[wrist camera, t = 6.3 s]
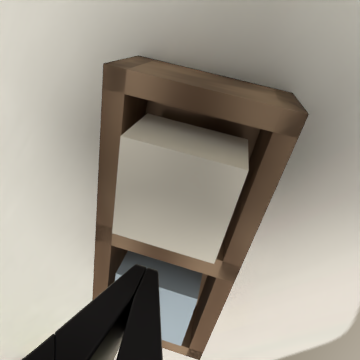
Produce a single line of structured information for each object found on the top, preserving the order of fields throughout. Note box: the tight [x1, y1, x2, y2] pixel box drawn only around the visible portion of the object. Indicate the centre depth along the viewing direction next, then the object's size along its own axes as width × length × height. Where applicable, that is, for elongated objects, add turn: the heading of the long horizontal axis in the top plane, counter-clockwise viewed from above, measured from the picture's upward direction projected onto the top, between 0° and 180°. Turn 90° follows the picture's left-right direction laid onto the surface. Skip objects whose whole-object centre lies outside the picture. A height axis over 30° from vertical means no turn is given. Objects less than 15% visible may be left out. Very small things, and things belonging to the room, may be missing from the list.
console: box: [93, 56, 309, 360], centre depth 21 cm, size 10×22×5 cm, turn 169°
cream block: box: [112, 113, 249, 264], centre depth 16 cm, size 6×6×4 cm
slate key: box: [115, 251, 202, 346], centre depth 22 cm, size 6×6×4 cm
